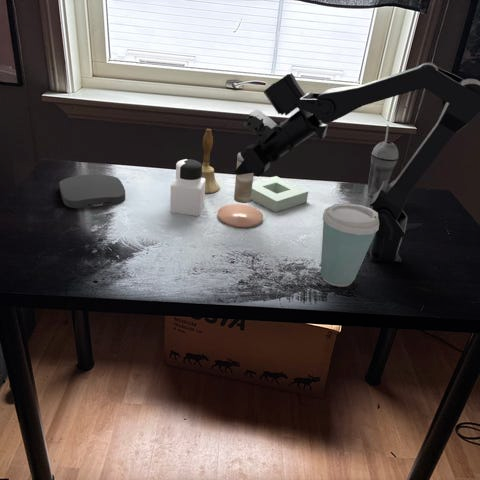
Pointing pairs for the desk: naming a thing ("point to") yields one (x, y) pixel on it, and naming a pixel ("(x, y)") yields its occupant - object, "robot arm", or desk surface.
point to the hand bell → (208, 171)
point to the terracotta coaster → (240, 215)
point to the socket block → (285, 191)
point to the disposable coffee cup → (346, 241)
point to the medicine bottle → (188, 188)
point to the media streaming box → (92, 191)
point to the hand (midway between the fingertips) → (239, 170)
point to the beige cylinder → (243, 184)
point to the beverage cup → (381, 164)
